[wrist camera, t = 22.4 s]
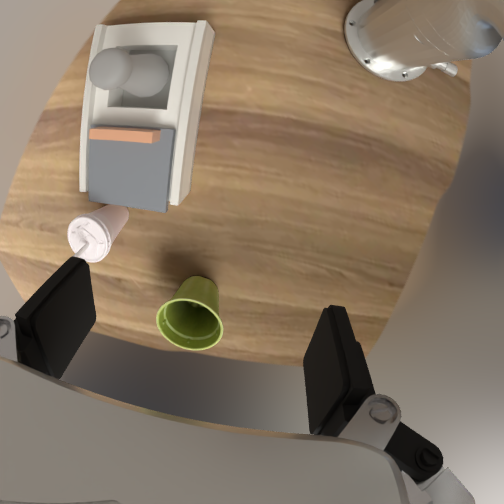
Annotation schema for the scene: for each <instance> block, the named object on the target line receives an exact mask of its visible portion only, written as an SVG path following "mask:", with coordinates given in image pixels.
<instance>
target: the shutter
mask: <svg viewBox="0 0 504 504" xmlns="http://www.w3.org/2000/svg"><path fill="white" fill-rule="evenodd" d="M175 134H176V129H169V128H159V127H146V126H131V125H112V124H92V125H91V129H90V130H89V139H90V146H89V201H92V202H99V203H106V204H112V205H119V206H125V207H132V208H138V209H145V210H151V211H157V212H163V213H166V212H167V211H168V202H169V190H170V179H171V169H172V159H173V150H174V142H175Z"/></svg>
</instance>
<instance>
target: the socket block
mask: <svg viewBox="0 0 504 504" xmlns="http://www.w3.org/2000/svg"><path fill="white" fill-rule="evenodd" d="M214 38H215V32H214V30H213V29H212V28H211V26H210V25H209V24H208V22H207V21H204V20H197V23H189V22H156V23H135V24H122V25H112V26H106V25H103V24H101V25H96V28H95V32H94V37H93V42H92V47H91V52H90V58H89V63H88V70H87V76H86V84H85V91H84V100H83V110H82V122H81V138H80V171H79V181H80V192H87V191H89V146H90V139H89V130H90V129H91V125H92V124H112V125H131V126H146V127H159V128H169V129H176V134H175V142H174V150H173V159H172V169H171V179H170V190H169V201H170V204H171V205H177V206H178V205H179V204H180V203H181V202H182V200H183V199H184V198H185V197H186V196H187V195H188V193H189V192H190V189H191V181H192V172H193V164H194V156H195V149H196V142H197V135H198V128H199V121H200V115H201V109H202V102H203V96H204V91H205V85H206V79H207V74H208V68H209V63H210V58H211V53H212V48H213V43H214ZM108 48H119V49H122V50H125V51H127V53H128V54H129V55H139V54H151V53H152V54H155V55H158V56H161V57H162V58H163V60H164V61H165V62H166V63H167V64H168V69H169V77H168V81H167V84H166V85H165V86H164V87H163V89H162V90H161V91H160V92H158V93H156V94H155V95H153V96H151V97H141V98H140V97H138V96H135V95H133V94H131V93H129V92H127V91H126V90H124V89H121V88H119V87H118V88H117V89H111V90H103V89H101V88H98V87H96V86H94V85H93V83H92V82H91V81H90V77H89V68H90V64H91V62H92V60H93V59H94V57H95V56H96V55H97V54H98V53H99V52H101V51H102V50H104V49H108Z"/></svg>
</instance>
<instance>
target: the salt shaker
mask: <svg viewBox="0 0 504 504" xmlns="http://www.w3.org/2000/svg"><path fill="white" fill-rule="evenodd" d="M89 77H90V81H91V82H92V83H93V85H94V86H96V87H98V88H101V89H103V90H111V89H117V88H118V87H119V88H121V89H124V90H126V91H127V92H129V93H131V94H133V95H135V96H138V97H140V98H141V97H151V96H153V95H155V94H156V93H158V92H160V91H161V90H162V89H163V87H164V86H165V85H166V84H167V81H168V77H169V69H168V64H167V63H166V62H165V61H164V60H163V58H162V57H161V56H158V55H155V54H152V53H151V54H139V55H129V54H128V53H127V51H125V50H122V49H119V48H108V49H104V50H102V51H101V52H99V53H98V54H97V55H96V56H95V57H94V59H93V60H92V62H91V64H90V68H89Z"/></svg>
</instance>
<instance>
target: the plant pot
mask: <svg viewBox="0 0 504 504" xmlns="http://www.w3.org/2000/svg"><path fill="white" fill-rule="evenodd" d="M156 322H157V326H158V328H159V331H160V332H161V334H162V335H163V336H164V337H165V338H166V339H167V340H168V341H170V342H171V343H173V344H174V345H176V346H178V347H181V348H184V349H188V350H204V349H208V348H210V347H212V346H214V345H215V344H217V343H218V342H219V340H220V339H221V337H222V334H223V324H222V321H221V318H220V317H219V294H218V289H217V287H216V285H215V284H214V283H213V282H212V281H211V280H209V279H206V278H203V277H201V276H192V277H189V278H188V279H186V280H185V281H184V282H183V283H182V285H181V286H180V288H179V289H178V290H177V292H176V293H175V295H174V296H173V297H172V299H170V300H169V301H167V302H165V303H164V304H163V305H162V306H161V307H160V309H159V310H158V313H157V316H156Z"/></svg>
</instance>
